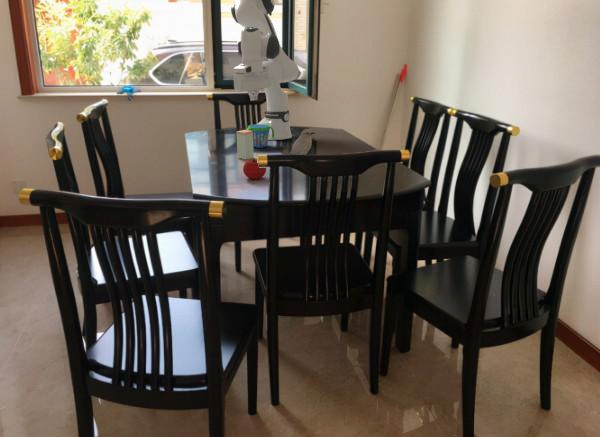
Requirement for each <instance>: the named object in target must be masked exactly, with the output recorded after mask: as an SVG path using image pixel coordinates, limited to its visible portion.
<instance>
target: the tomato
mask: <svg viewBox="0 0 600 437" xmlns="http://www.w3.org/2000/svg"><path fill="white" fill-rule="evenodd" d="M242 172H243V174H244V176H245V177H247V178H248V179H250V180H260V179H261V178H263V177H264V176H265V174H266V172H267V167H266V168H259V167H258V163H257V158H255V157H254V158H251V159H248V160H245V162H244V164H243V168H242Z"/></svg>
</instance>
